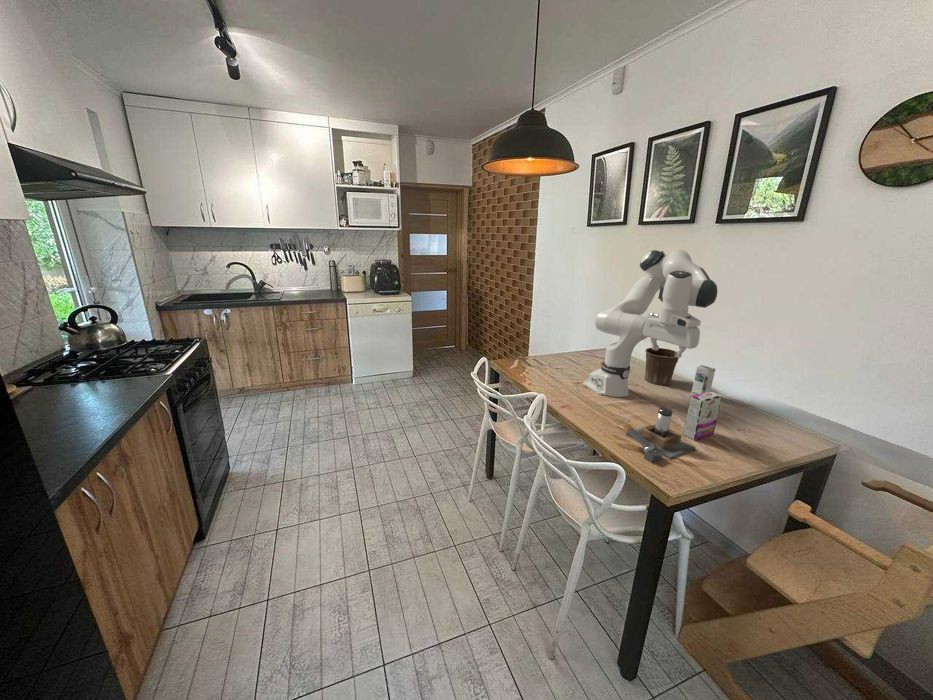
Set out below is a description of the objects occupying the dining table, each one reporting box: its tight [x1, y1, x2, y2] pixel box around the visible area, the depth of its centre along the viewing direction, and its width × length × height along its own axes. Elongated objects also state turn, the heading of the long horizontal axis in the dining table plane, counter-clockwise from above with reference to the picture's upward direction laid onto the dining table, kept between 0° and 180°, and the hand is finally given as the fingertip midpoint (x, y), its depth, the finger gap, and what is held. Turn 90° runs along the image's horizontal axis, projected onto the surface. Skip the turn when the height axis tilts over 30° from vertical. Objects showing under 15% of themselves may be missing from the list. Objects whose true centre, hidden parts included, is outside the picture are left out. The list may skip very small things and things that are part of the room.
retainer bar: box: [622, 423, 651, 449], centre depth 128 cm, size 1×3×10 cm
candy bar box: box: [682, 390, 723, 441], centre depth 137 cm, size 11×5×16 cm, turn 114°
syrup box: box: [690, 364, 716, 396], centre depth 173 cm, size 6×6×14 cm
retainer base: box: [642, 445, 663, 464], centre depth 123 cm, size 4×5×4 cm
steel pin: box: [654, 406, 674, 438], centre depth 132 cm, size 4×4×12 cm
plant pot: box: [644, 347, 680, 386], centre depth 190 cm, size 16×16×16 cm
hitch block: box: [625, 423, 697, 460], centre depth 133 cm, size 18×14×4 cm
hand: (666, 353), depth 136 cm, fingers open, 8 cm apart
